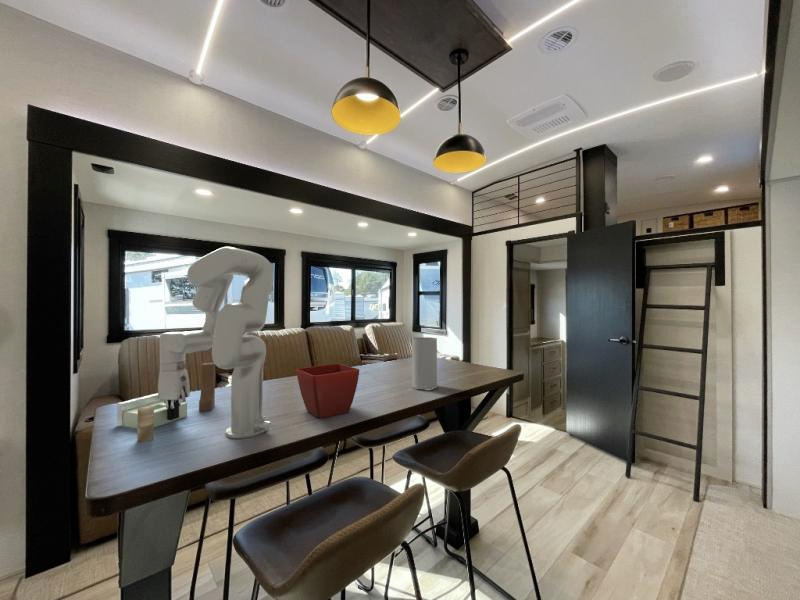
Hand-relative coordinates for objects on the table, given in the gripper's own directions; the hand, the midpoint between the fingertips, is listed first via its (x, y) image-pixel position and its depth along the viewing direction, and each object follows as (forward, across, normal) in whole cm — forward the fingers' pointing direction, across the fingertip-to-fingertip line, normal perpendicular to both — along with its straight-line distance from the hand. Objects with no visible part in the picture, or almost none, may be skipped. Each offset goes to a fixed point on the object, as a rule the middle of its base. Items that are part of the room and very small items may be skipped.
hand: (173, 418), depth 115 cm
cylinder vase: (+4, -73, -76) cm, 106 cm away
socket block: (+1, +8, 0) cm, 8 cm away
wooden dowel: (+2, -5, +13) cm, 14 cm away
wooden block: (+2, +4, -17) cm, 18 cm away
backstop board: (+1, +15, 0) cm, 15 cm away
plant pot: (+3, -45, -28) cm, 53 cm away
